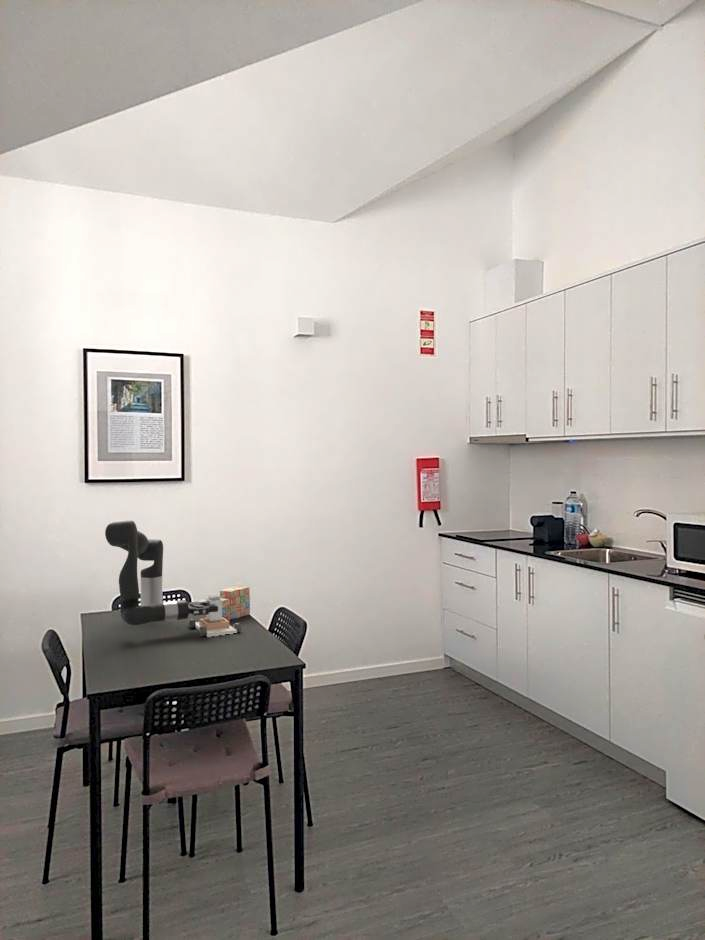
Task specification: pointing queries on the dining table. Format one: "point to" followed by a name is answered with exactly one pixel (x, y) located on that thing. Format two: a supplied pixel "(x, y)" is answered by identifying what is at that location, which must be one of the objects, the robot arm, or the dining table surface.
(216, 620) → the grey tall block
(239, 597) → the stack of blocks
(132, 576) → the robot arm
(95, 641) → the dining table surface
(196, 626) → the chassis
